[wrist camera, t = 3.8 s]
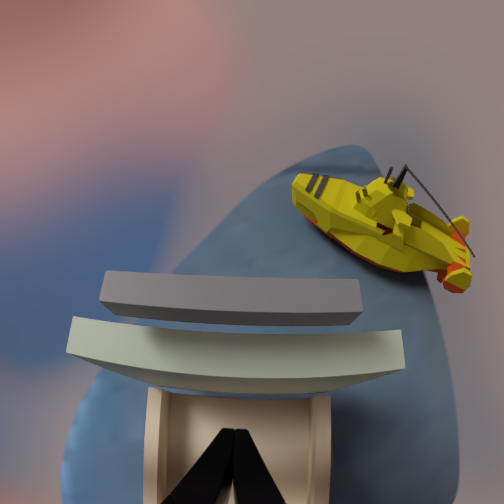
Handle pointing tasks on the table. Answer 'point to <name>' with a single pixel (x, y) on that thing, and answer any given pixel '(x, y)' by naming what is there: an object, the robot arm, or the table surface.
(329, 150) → the table surface
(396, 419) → the table surface
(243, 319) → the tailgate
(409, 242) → the toy boat
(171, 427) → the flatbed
